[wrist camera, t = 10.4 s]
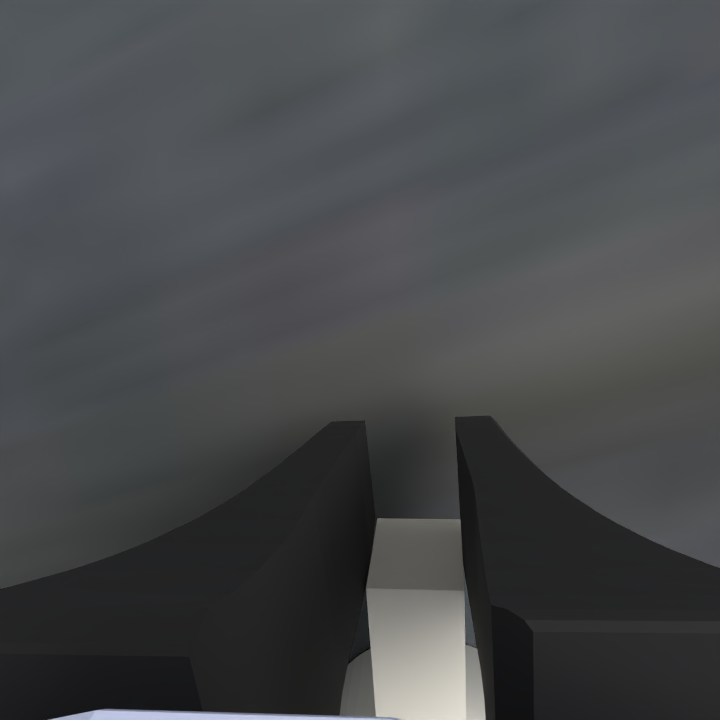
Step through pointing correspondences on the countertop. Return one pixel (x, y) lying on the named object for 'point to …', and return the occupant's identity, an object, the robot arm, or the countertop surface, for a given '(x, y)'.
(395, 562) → the white piece
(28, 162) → the countertop surface
